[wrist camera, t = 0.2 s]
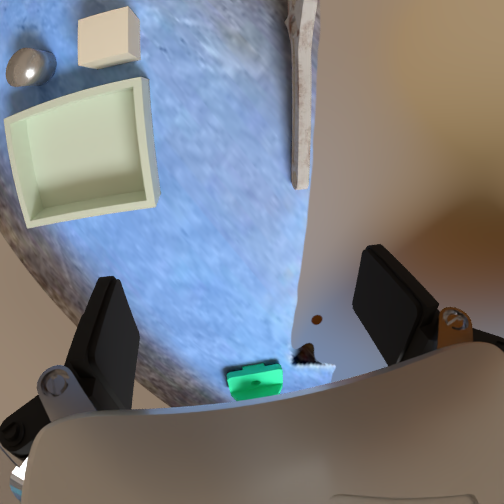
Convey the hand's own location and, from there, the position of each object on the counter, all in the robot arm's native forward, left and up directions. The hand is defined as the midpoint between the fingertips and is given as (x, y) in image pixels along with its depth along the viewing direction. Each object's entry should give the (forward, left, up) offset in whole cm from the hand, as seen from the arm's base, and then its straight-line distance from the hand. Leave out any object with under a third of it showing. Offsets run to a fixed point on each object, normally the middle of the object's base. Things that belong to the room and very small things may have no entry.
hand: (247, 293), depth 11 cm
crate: (-3, -18, -31) cm, 35 cm away
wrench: (-9, +11, -31) cm, 34 cm away
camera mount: (+49, +4, -31) cm, 58 cm away
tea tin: (-17, -24, -31) cm, 42 cm away
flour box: (-17, -12, -31) cm, 37 cm away
